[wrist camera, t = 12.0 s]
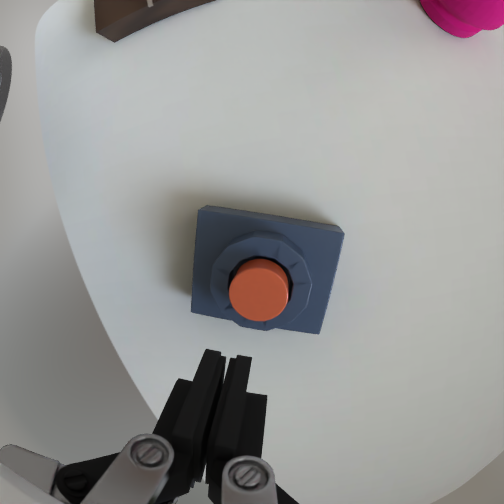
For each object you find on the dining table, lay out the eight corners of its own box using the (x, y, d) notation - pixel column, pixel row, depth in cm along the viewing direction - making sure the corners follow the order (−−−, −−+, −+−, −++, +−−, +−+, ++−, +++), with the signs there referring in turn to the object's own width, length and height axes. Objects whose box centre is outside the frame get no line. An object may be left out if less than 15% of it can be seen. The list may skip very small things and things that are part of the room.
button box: (198, 300, 24) (183, 324, 20) (206, 204, 22) (189, 214, 18) (317, 320, 24) (321, 348, 20) (339, 226, 21) (350, 240, 17)
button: (230, 303, 20) (225, 316, 18) (236, 254, 19) (231, 263, 17) (283, 312, 20) (282, 326, 18) (292, 263, 19) (293, 273, 17)
